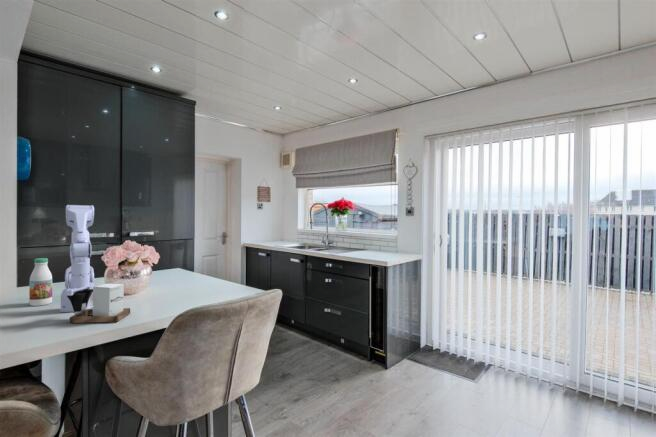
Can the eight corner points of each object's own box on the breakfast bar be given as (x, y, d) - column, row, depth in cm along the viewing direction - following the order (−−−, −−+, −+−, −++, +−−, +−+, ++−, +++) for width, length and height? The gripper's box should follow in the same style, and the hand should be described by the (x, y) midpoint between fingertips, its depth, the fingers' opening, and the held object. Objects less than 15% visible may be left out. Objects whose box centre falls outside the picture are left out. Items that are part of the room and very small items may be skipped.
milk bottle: (25, 305, 147) (25, 259, 147) (45, 301, 154) (45, 257, 154) (35, 307, 144) (36, 260, 144) (56, 303, 151) (56, 258, 151)
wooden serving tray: (67, 322, 124) (67, 307, 124) (85, 314, 135) (85, 299, 135) (116, 321, 126) (117, 306, 126) (130, 313, 137) (130, 299, 137)
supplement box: (108, 321, 127) (109, 287, 126) (91, 320, 128) (92, 286, 128) (124, 315, 134) (124, 283, 134) (108, 314, 135) (108, 282, 135)
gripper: (80, 278, 123) (80, 315, 123) (101, 271, 137) (101, 304, 137) (59, 278, 122) (59, 315, 122) (82, 271, 136) (82, 305, 136)
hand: (80, 310), depth 130 cm, fingers closed on wooden serving tray, 3 cm apart
